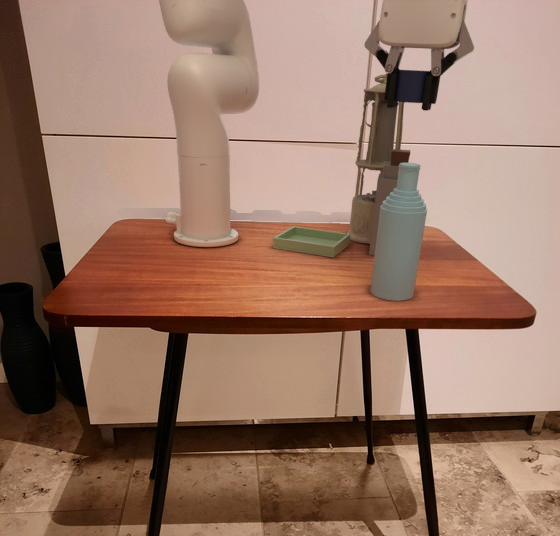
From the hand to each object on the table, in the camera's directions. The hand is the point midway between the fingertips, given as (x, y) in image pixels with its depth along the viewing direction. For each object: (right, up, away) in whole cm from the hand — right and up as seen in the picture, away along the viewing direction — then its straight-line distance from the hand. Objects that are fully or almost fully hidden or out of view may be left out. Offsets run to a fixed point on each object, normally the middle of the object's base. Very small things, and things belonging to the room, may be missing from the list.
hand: (409, 107), depth 73 cm
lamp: (+1, -7, +40) cm, 41 cm away
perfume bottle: (+3, -13, +31) cm, 34 cm away
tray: (-11, -11, +32) cm, 36 cm away
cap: (0, +1, 0) cm, 1 cm away
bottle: (0, -23, +11) cm, 26 cm away
